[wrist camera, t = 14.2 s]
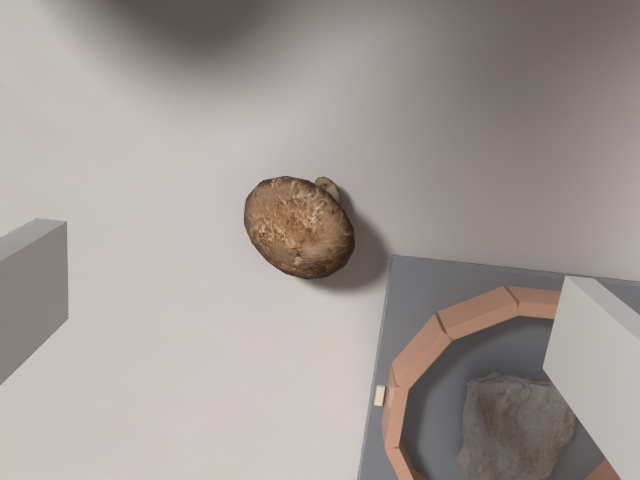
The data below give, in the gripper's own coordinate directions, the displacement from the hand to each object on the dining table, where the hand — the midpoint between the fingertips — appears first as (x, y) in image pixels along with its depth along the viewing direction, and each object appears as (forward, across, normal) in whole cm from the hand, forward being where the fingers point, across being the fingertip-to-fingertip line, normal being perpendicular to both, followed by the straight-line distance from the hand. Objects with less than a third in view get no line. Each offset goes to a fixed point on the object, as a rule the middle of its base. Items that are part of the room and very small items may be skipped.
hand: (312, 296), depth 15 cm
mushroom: (+27, -1, -5) cm, 27 cm away
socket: (+27, +17, -18) cm, 36 cm away
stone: (+26, +16, -18) cm, 35 cm away
